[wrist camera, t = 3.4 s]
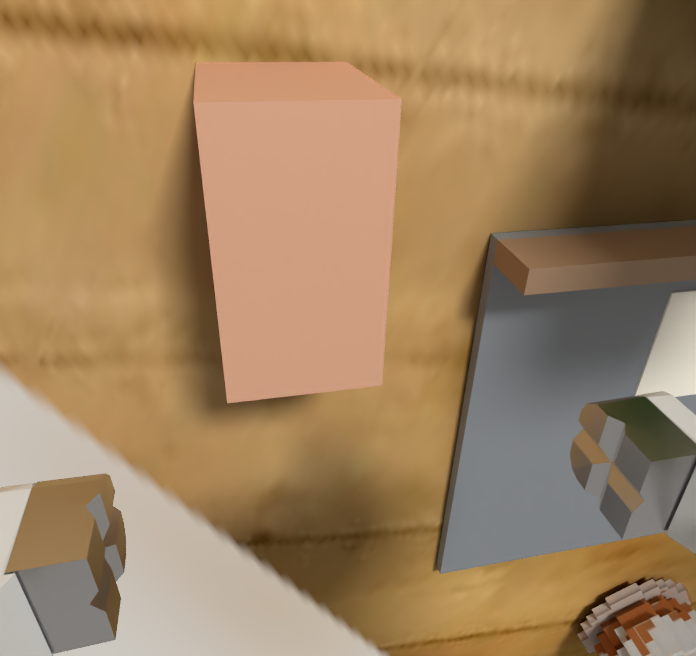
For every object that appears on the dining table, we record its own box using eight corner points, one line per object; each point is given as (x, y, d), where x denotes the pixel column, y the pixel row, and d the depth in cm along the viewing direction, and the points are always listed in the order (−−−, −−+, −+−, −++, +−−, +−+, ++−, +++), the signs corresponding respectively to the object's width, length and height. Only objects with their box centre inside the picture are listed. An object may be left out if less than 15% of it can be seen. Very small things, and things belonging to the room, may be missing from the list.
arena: (491, 233, 22) (529, 269, 19) (907, 205, 26) (986, 232, 23) (436, 564, 33) (456, 615, 30) (737, 509, 36) (777, 551, 34)
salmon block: (195, 62, 17) (193, 102, 12) (346, 61, 18) (401, 98, 13) (221, 300, 21) (227, 403, 16) (341, 290, 22) (382, 385, 17)
